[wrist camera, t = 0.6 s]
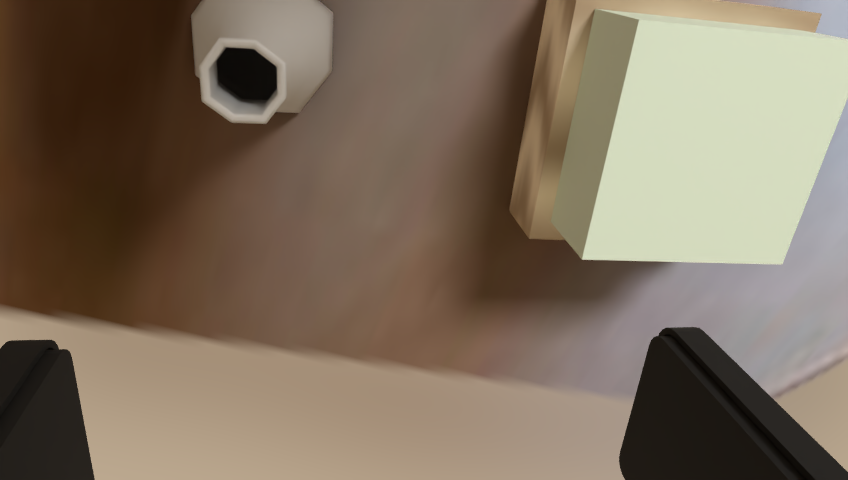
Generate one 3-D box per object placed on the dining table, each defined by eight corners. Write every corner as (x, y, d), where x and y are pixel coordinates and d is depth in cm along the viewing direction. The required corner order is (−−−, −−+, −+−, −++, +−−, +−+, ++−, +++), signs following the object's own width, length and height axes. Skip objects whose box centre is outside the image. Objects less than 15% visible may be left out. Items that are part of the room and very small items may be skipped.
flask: (310, 132, 34) (307, 200, 25) (173, 84, 32) (117, 139, 23) (356, 1, 31) (371, 24, 22) (211, -61, 29) (164, -63, 20)
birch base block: (547, -20, 33) (579, -15, 29) (764, 5, 35) (821, 13, 31) (506, 207, 38) (528, 238, 34) (697, 216, 40) (738, 246, 36)
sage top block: (594, 8, 29) (639, 19, 25) (798, 29, 31) (869, 43, 27) (550, 221, 34) (581, 259, 30) (730, 228, 36) (781, 264, 32)
